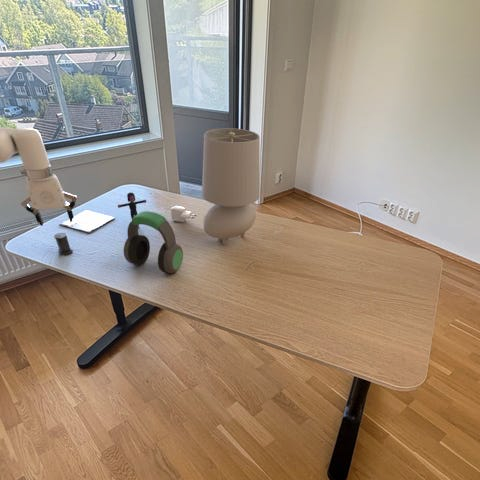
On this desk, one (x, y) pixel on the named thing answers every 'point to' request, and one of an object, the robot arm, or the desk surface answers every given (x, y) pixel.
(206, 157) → the table lamp
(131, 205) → the figurine
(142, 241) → the headphones
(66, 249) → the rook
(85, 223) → the board
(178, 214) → the power adapter
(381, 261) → the desk surface
